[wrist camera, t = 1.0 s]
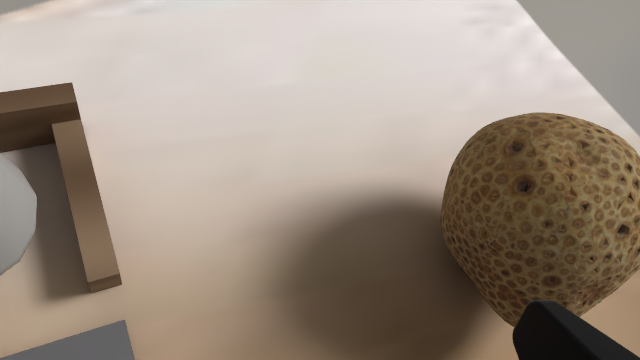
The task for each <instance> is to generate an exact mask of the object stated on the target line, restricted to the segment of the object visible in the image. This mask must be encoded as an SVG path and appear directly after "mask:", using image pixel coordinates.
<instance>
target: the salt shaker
mask: <svg viewBox="0 0 640 360" xmlns="http://www.w3.org/2000/svg"><path fill="white" fill-rule="evenodd" d="M36 209H37V196H36V194H35V192H34V191H33V189H32V188H31V186H30V184H29V183H28V181H27V180H26V178H25V176H24V175H23V173H22V172H21V170H20V169H19V168H17V167H16V166H15V165H14V164H13V163H11V162H10V161H9V160H8V159H7V158H5V157H4V156H3V155H2V154H1V153H0V275H1V274H3V273H4V272H6V271H7V270H8V269H10V268H11V267H12V266H14V265H15V264H16V263H18V262H19V261H20V259H21V258H22V256H23V254H24V252H25V250H26V248H27V246H28V244H29V243H30V241H31V239H32V237H33V235H34V233H35V230H36Z"/></svg>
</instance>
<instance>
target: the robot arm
mask: <svg viewBox="0 0 640 360" xmlns="http://www.w3.org/2000/svg"><path fill="white" fill-rule="evenodd" d="M513 343H514V346H515V349H516V352H517V355H518V358H519V360H640V357H638V356H637V355H635V354H634V353H632V352H631V351H629V350H628V349H626V348H625V347H623V346H622V345H620V344H619V343H617V342H616V341H614V340H613V339H611V338H610V337H608V336H607V335H605V334H604V333H602V332H601V331H599V330H598V329H596V328H595V327H593V326H592V325H590V324H589V323H587V322H586V321H584V320H583V319H581V318H580V317H578V316H577V315H575V314H574V313H572V312H571V311H569V310H568V309H566V308H565V307H563V306H562V305H560V304H559V303H557V302H555V301H553V300H532V301H530V302H529V303H528V304H527V306H526V307H525V309H524V311H523V313H522V315H521V317H520V319H519V320H518V322H517V324H516V326H515V328H514V330H513Z"/></svg>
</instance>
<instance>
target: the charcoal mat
mask: <svg viewBox="0 0 640 360" xmlns="http://www.w3.org/2000/svg"><path fill="white" fill-rule="evenodd" d="M0 360H134V355H133V351H132V347H131V343H130V339H129V335H128V331H127V327H126V323H125V320H122V321H119V322H115V323H112V324H109V325H106V326H103V327H99V328H96V329H93V330H90V331H87V332H83V333H80V334H77V335H74V336H71V337H67V338H64V339H61V340H58V341H55V342H51V343H48V344H45V345H42V346H39V347H35V348H32V349H29V350H26V351H22V352H19V353H16V354H13V355H10V356H6V357H3V358H0Z"/></svg>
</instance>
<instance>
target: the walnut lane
mask: <svg viewBox="0 0 640 360" xmlns="http://www.w3.org/2000/svg"><path fill="white" fill-rule="evenodd" d="M51 143H56V146H57V150H58V155H59V159H60V163H61V168H62V172H63V176H64V181H65V185H66V189H67V194H68V198H69V203H70V207H71V211H72V216H73V220H74V224H75V229H76V233H77V238H78V242H79V246H80V251H81V255H82V259H83V264H84V268H85V273H86V277H87V281H88V284H89V287H90V289H91V291H92V293H93V292H96V291H100V290H103V289H107V288H110V287H114V286H117V285H121V284H122V282H121V277H120V273H119V269H118V265H117V261H116V257H115V253H114V249H113V245H112V241H111V237H110V233H109V229H108V225H107V221H106V217H105V213H104V209H103V205H102V201H101V197H100V193H99V189H98V185H97V181H96V177H95V173H94V169H93V166H92V162H91V158H90V154H89V150H88V146H87V142H86V138H85V134H84V130H83V126H82V122H81V118H80V113H79V109H78V105H77V101H76V97H75V93H74V89H73V85H72V83H65V84H57V85H50V86H43V87H36V88H29V89H22V90H15V91H8V92H1V93H0V152H6V151H12V150H17V149H23V148H28V147H34V146H39V145H45V144H51Z"/></svg>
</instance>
